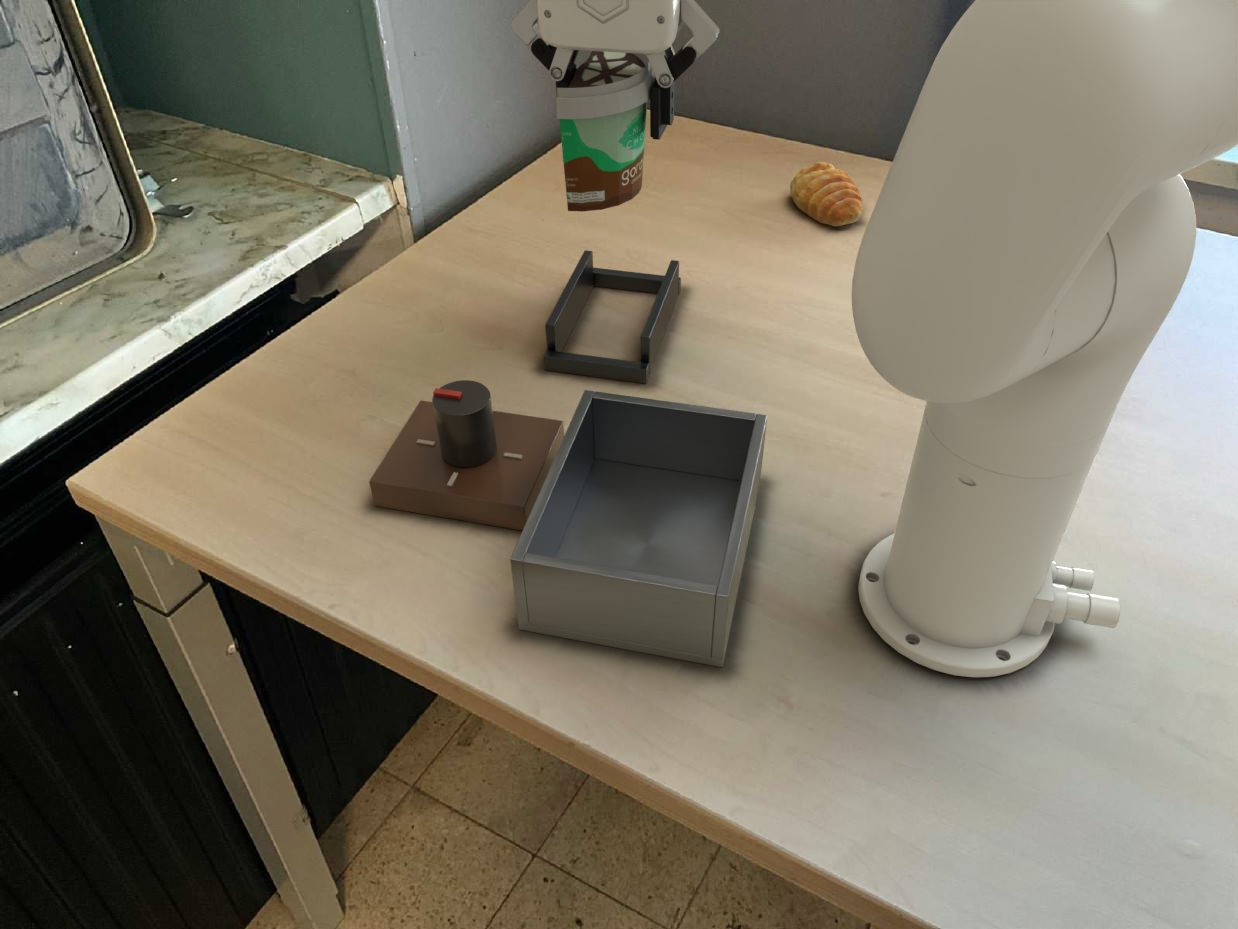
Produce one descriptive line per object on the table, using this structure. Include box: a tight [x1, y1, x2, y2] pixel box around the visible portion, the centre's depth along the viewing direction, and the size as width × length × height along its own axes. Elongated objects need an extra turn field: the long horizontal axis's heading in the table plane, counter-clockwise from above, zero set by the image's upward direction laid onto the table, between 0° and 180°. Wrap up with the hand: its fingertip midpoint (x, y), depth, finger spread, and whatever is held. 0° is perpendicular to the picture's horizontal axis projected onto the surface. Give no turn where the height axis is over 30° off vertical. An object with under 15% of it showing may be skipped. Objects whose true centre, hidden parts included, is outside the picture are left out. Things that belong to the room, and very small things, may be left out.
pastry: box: [789, 161, 864, 228], centre depth 107 cm, size 9×7×4 cm
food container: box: [556, 51, 655, 213], centre depth 78 cm, size 12×6×10 cm, turn 168°
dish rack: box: [542, 250, 682, 385], centre depth 91 cm, size 9×15×4 cm, turn 166°
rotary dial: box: [368, 399, 565, 531], centre depth 76 cm, size 12×10×3 cm
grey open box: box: [509, 389, 768, 668], centre depth 69 cm, size 14×18×7 cm
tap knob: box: [431, 379, 497, 468], centre depth 74 cm, size 4×4×5 cm
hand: (616, 127), depth 78 cm, fingers closed on food container, 6 cm apart
